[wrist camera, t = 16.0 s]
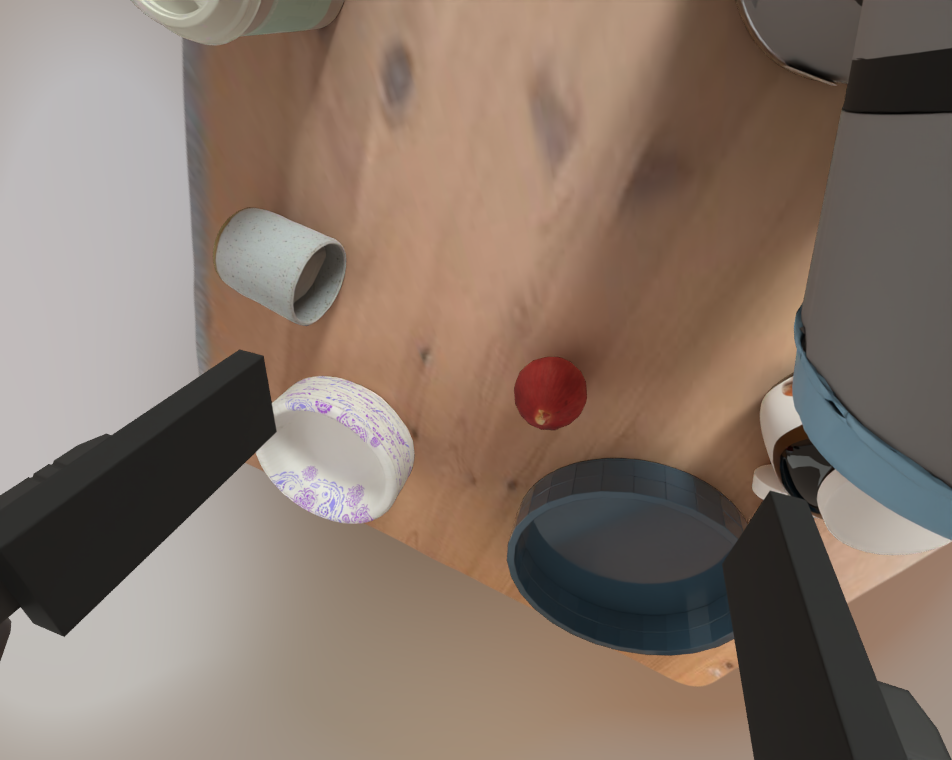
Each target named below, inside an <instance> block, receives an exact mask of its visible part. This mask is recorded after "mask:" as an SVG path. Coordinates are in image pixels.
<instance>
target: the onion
mask: <svg viewBox="0 0 952 760" xmlns="http://www.w3.org/2000/svg"><path fill="white" fill-rule="evenodd" d="M514 394H515V404H516V406H517V408H518V410H519V413H520V414H521V416H522V417H523V418H524V419H525V420H526V421H527V422H528V423H529V424H530V425H532V426H534V427H537V428H539V429H541V430H556V429H559V428H561V427H564V426H567V425H569V424H570V423H572V422H573V421H574V420H575V419H576V418H578V417H579V415H580V414H581V412H582V410H583V408H584V406H585V403H586V400H587V388H586V381H585V379H584V377H583V375H582V373H581V371H580V370H579V369H578V368H577V367H575V366H574V365H573V364H572V363H571V362H570V361H568V360H565V359H563V358H560V357H544V358H541V359H537V360H533V361H532V362H531V363H529V364H528V365H527V366H526V367H524V368H523V369H522V370H521V371H520V373H519V376H518V378H517V380H516V383H515V387H514Z"/></svg>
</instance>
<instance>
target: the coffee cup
mask: <svg viewBox="0 0 952 760" xmlns="http://www.w3.org/2000/svg"><path fill="white" fill-rule="evenodd" d="M131 1H132V2H133V3H134V4H135V5H136V6H137V7H138V8H139V9H140V10H141V11H142V12H143V13H144V14H146V15H147V16H148V17H150V18H151V19H153V20H154V21H156V22H158V23H160V24H162V25H163V26H165V27H166V28H167V29H169V30H170V31H172V32H173V33H175V34H177V35H179V36H181V37H183V38H185V39H188V40H192V41H194V42H197V43H200V44H204V45H222V44H226V43H229V42H231V41H233V40H235V39H236V38H238V37H239V36H250V35H261V34H273V33H284V32H295V31H305V30H315V29H321V28H323V27H325V26H327V25H329V24H330V23H331V22H332V21H333V20H334V19H335V18H336V16H337V15H338V13H339V11H340V9H341V7H342V4H343V1H344V0H131Z"/></svg>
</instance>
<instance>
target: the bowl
mask: <svg viewBox="0 0 952 760" xmlns="http://www.w3.org/2000/svg"><path fill="white" fill-rule="evenodd" d="M747 525H748V524H747V522H746V520H745V519H744V517H743V516H742V514H741V512H740V511H739V510H738V509H737V508H736V507H735V506H734V504H733V503H732V502H731V501H730V500H729V499H727V498H726V497H725V496H724V495H723V494H722V493H721V492H719V491H718V490H716V489H715V488H713V487H712V486H710V485H709V484H707V483H706V482H704V481H702V480H700V479H698V478H696V477H695V476H693V475H691V474H688V473H686V472H683V471H681V470H678V469H676V468H673V467H669V466H666V465H662V464H659V463H654V462H649V461H643V460H637V459H625V458H604V459H595V460H587V461H583V462H579V463H574V464H571V465H568V466H565V467H563V468H560V469H558V470H556V471H554V472H552V473H550V474H548V475H547V476H545V477H544V478H542V479H541V480H539V481H538V482H537V483H536V484H535V485H534V486H533V487H532V488H531V489H530V490H529V491H528V493H527V494H526V495H525V497H524V498H523V500H522V502H521V505H520V507H519V509H518V512H517V514H516V518H515V521H514V525H513V528H512V532H511V535H510V539H509V542H508V551H507V563H508V567H509V570H510V574H511V577H512V579H513V581H514V583H515V585H516V586H517V588H518V590H519V592H520V593H521V595H522V596H523V597H524V598H525V599H526V600H527V601H528V602H529V604H530V605H531V606H532V607H533V608H534V609H535V610H536V611H538V612H539V613H540V614H541V615H543V616H544V617H545V618H547V619H548V620H549V621H550V622H552V623H553V624H555V625H557V626H558V627H560V628H562V629H564V630H565V631H567V632H569V633H571V634H573V635H575V636H577V637H580V638H582V639H585V640H587V641H589V642H592V643H595V644H597V645H601V646H605V647H608V648H611V649H615V650H619V651H625V652H631V653H637V654H645V655H668V656H669V655H670V656H672V655H682V654H691V653H697V652H701V651H705V650H708V649H712V648H716V647H719V646H721V645H723V644H725V643H727V642H729V641H731V640H733V639H734V634H733V628H732V622H731V616H730V610H729V604H728V598H727V591H726V585H725V579H724V573H723V567H722V564H723V562H724V560H725V559H726V557H727V556H728V554H729V553H730V551H731V550H732V548H733V547H734V545H735V543H736V542H737V540H738V539H739V537H740V536H741V534H742V533H743V531H744V530H745V528H746V526H747Z"/></svg>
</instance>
